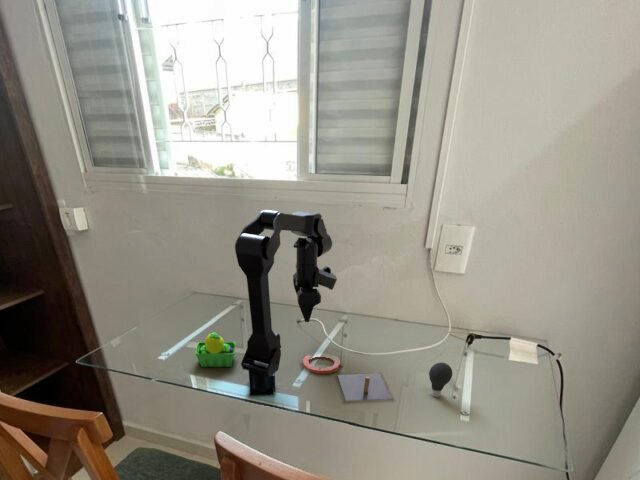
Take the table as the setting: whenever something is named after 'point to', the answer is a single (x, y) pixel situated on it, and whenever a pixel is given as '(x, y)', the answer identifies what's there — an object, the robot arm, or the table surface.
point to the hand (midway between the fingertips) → (305, 315)
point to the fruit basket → (215, 352)
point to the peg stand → (364, 387)
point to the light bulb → (439, 377)
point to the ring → (320, 370)
